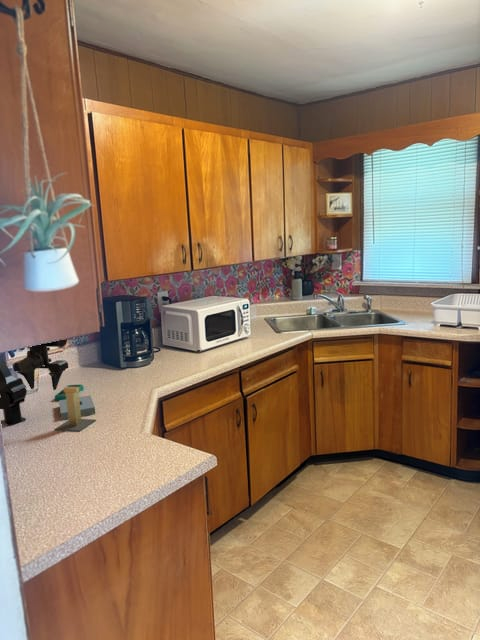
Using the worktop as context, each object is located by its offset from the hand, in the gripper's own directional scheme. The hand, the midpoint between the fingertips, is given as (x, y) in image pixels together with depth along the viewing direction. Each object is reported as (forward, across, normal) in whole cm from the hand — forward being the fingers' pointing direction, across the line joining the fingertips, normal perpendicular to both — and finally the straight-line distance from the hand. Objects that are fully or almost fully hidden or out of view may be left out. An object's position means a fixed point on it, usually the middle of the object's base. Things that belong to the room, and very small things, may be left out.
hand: (43, 389), depth 170 cm
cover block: (+13, +2, +14) cm, 19 cm away
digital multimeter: (+14, -12, +31) cm, 36 cm away
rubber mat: (+13, +11, 0) cm, 17 cm away
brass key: (+13, +11, 0) cm, 17 cm away
